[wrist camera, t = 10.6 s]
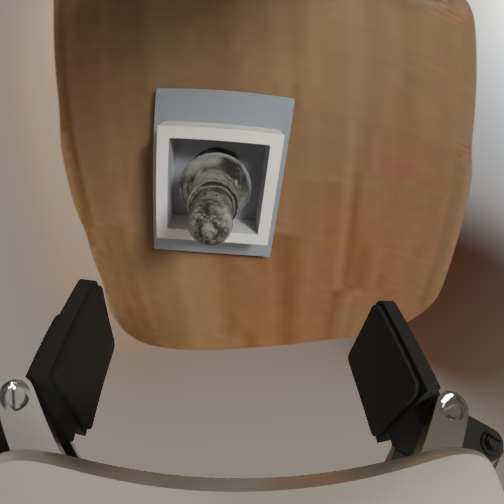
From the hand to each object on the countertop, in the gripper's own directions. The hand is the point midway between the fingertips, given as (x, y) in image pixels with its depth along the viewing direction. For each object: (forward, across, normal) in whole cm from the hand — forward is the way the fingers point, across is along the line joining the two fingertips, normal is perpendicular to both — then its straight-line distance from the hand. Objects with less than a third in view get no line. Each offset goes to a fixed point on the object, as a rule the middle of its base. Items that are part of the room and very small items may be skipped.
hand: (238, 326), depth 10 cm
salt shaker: (+20, +1, +1) cm, 20 cm away
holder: (+21, +1, +2) cm, 21 cm away
